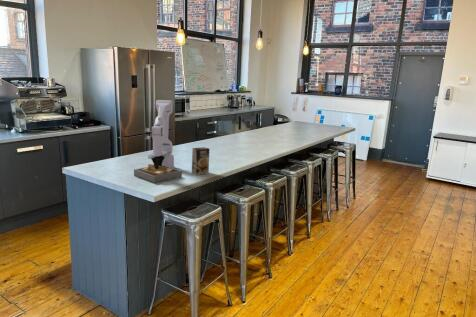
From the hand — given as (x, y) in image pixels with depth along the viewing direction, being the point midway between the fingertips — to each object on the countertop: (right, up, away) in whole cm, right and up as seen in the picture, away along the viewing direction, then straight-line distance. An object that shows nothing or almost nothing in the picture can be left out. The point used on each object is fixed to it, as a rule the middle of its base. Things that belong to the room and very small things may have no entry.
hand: (157, 168), depth 216 cm
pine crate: (-1, -4, +1) cm, 4 cm away
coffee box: (+24, -4, +13) cm, 27 cm away
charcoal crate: (0, -5, +1) cm, 5 cm away
